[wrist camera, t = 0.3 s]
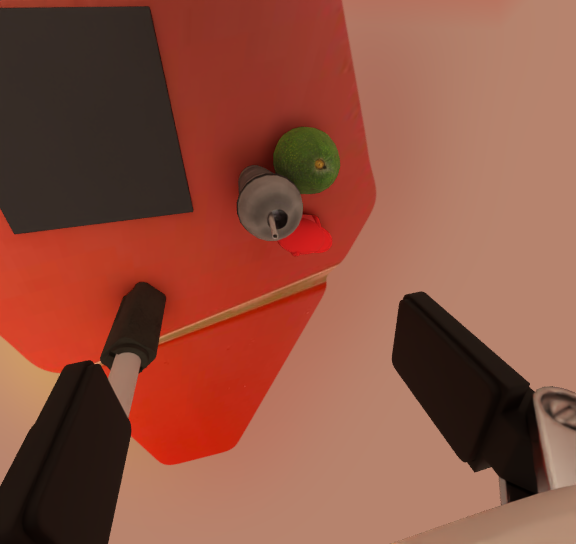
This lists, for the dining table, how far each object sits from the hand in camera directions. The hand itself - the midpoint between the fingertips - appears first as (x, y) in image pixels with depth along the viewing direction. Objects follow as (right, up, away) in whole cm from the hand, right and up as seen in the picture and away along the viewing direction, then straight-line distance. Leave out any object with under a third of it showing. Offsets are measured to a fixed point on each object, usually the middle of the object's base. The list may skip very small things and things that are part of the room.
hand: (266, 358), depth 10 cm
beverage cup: (-4, +15, +34) cm, 37 cm away
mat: (-24, +19, +26) cm, 40 cm away
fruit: (+2, +19, +33) cm, 38 cm away
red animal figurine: (+2, +10, +39) cm, 40 cm away
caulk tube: (-22, -1, +39) cm, 44 cm away
